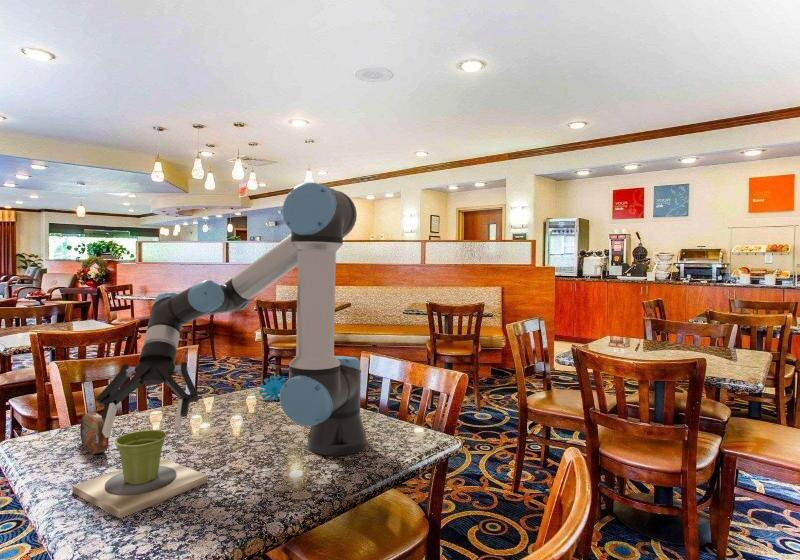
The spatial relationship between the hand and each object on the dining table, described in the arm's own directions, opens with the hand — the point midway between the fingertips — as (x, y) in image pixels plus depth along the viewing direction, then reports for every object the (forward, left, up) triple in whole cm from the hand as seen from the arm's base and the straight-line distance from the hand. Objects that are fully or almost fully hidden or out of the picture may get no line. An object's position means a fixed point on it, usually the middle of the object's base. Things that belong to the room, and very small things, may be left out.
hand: (141, 432), depth 100 cm
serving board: (-2, +1, -11) cm, 11 cm away
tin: (+28, -4, -11) cm, 31 cm away
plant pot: (-2, +1, -9) cm, 9 cm away
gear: (+26, -61, -11) cm, 67 cm away
